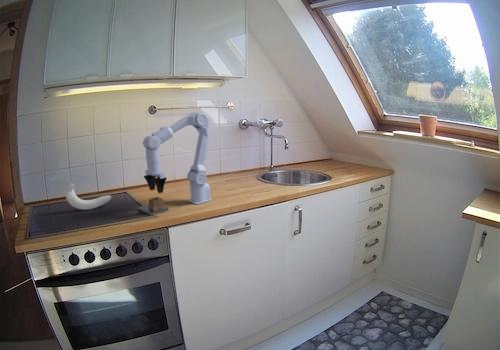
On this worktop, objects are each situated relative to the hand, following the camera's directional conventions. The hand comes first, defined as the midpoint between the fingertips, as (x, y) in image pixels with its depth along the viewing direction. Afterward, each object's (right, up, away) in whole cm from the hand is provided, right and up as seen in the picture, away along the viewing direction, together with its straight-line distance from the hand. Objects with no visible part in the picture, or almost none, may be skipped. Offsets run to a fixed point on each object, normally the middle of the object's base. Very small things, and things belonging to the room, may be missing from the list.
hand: (156, 191), depth 150 cm
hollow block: (0, -8, 0) cm, 8 cm away
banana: (-34, -9, +7) cm, 36 cm away
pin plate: (-2, -9, +3) cm, 10 cm away
